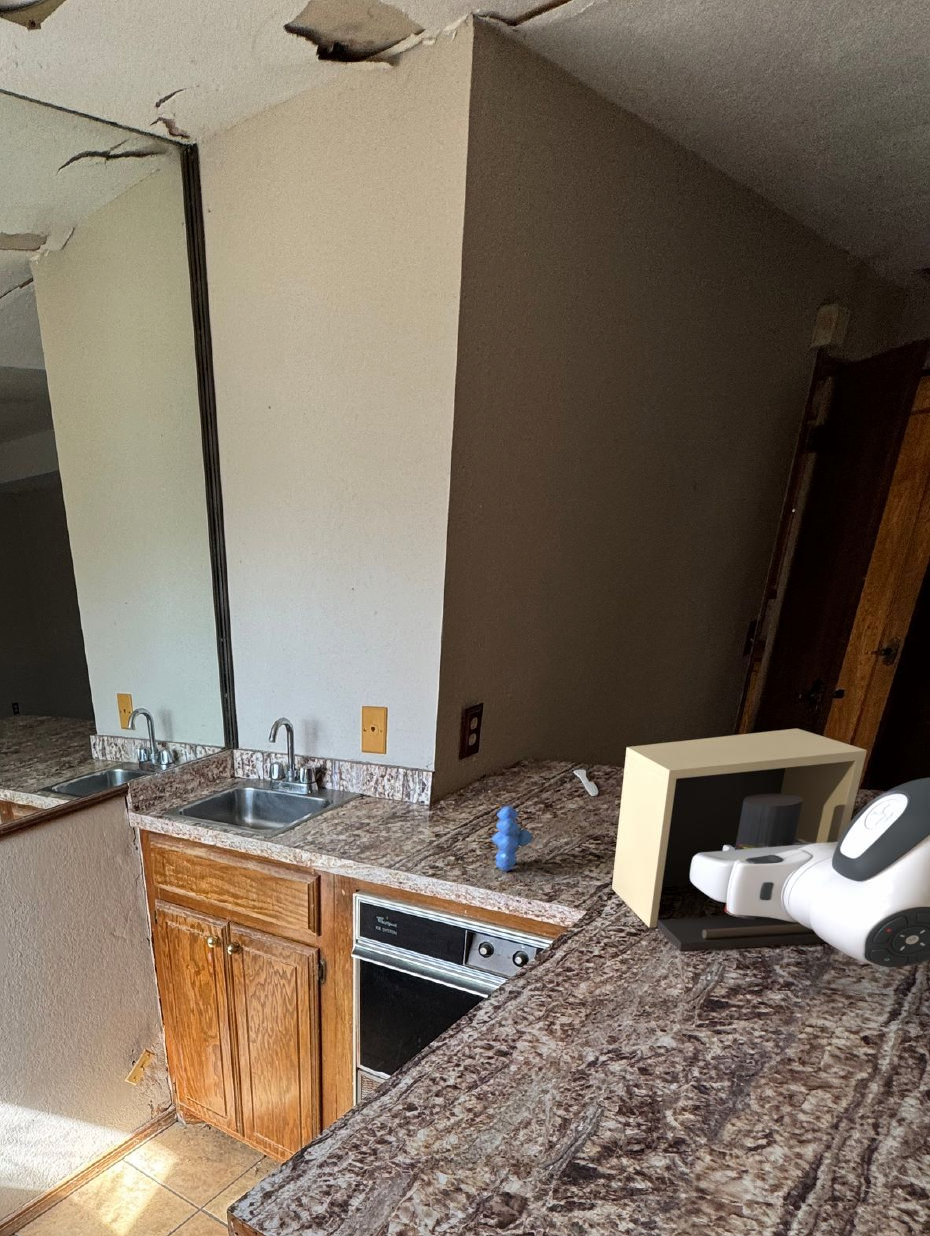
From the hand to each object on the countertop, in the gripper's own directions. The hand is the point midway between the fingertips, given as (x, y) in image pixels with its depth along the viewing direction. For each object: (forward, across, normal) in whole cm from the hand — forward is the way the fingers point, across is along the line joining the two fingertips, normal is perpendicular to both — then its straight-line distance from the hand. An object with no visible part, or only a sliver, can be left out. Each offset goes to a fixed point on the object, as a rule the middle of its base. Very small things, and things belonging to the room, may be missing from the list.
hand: (759, 847), depth 100 cm
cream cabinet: (+6, 0, +11) cm, 13 cm away
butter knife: (+84, -3, +11) cm, 85 cm away
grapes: (+30, +24, +12) cm, 40 cm away
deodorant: (-1, 0, +9) cm, 9 cm away
